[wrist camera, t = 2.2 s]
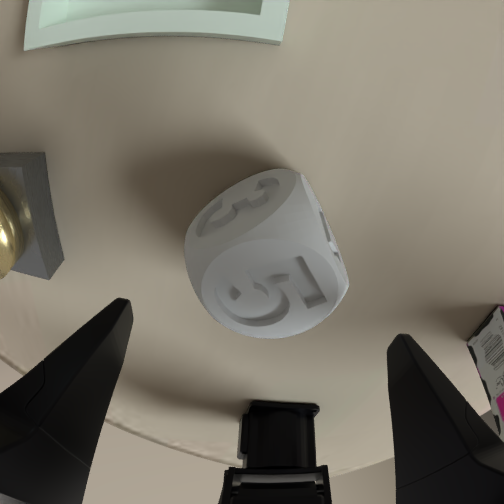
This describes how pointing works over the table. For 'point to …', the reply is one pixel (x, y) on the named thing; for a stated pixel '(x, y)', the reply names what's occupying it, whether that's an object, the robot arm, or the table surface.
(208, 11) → the tray
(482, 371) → the candy bar box
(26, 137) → the table surface
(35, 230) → the call bell
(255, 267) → the die
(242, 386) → the table surface
